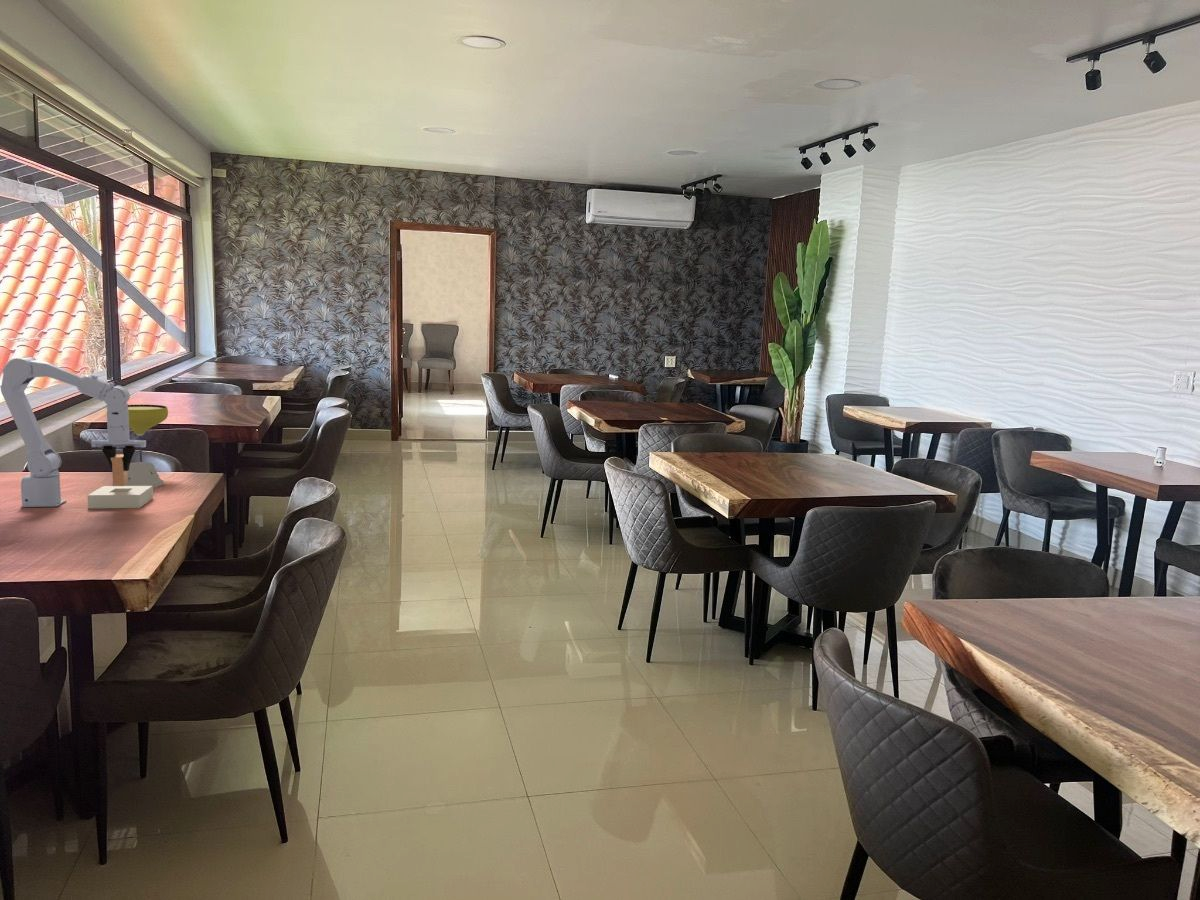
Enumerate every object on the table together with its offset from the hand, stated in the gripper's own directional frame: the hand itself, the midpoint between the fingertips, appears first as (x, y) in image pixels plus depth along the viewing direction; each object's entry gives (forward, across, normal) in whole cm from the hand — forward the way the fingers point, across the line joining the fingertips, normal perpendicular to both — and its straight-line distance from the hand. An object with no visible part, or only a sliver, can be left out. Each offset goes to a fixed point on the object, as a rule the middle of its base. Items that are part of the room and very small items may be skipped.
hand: (120, 470), depth 256 cm
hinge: (+11, -1, +23) cm, 25 cm away
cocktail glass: (+10, -6, +44) cm, 45 cm away
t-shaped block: (+4, 0, 0) cm, 4 cm away
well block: (+10, 0, 0) cm, 10 cm away
